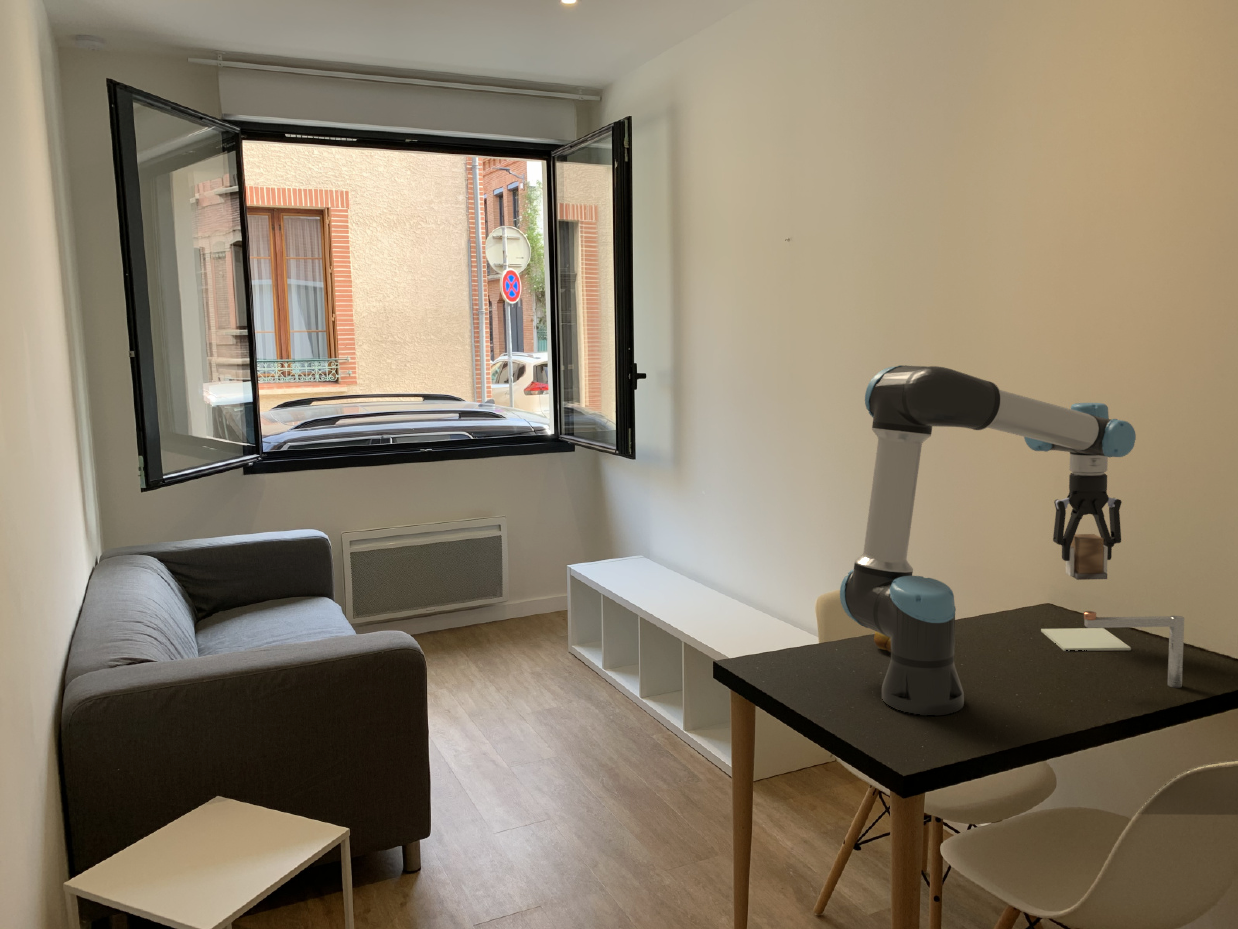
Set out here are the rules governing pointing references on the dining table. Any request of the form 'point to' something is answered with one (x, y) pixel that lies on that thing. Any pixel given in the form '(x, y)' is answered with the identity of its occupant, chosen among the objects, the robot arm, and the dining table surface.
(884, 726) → the dining table surface
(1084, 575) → the brown boxy piece
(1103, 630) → the sage mat
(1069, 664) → the dining table surface
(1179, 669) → the grey l-shaped handle
